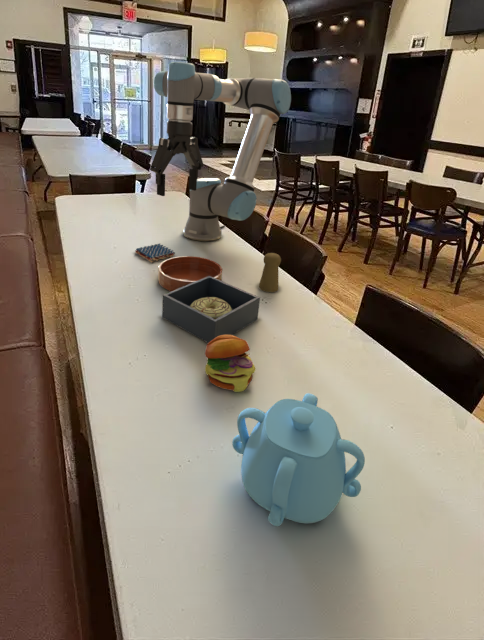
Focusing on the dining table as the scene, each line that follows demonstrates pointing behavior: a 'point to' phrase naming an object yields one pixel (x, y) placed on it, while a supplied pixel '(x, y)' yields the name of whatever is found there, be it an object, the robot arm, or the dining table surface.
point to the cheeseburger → (229, 363)
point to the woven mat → (154, 252)
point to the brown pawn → (270, 273)
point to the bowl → (186, 271)
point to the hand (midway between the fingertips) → (177, 192)
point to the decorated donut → (211, 306)
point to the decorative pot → (296, 460)
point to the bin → (202, 324)
